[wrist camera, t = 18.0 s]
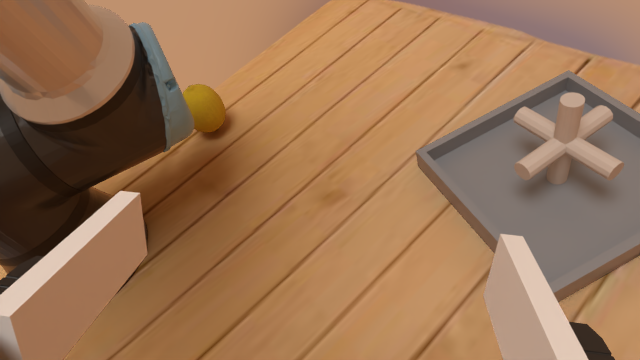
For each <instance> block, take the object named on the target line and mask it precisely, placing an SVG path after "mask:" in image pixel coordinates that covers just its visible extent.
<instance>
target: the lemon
mask: <svg viewBox="0 0 640 360" xmlns="http://www.w3.org/2000/svg"><path fill="white" fill-rule="evenodd" d="M183 96H184V99H185V101H186V103H187V105H188V107H189V109H190V112H191V114H192V116H193V119H194V129H196V130H197V131H200V132H207V133H209V132H213V131H217V130H218V128H220V127H221V126H222V124H223V122H224V120H225V107H224V104H223V102H222V100H221V98H220V97H219V95H218V94H217V93H216V92H215V91H214V90H213V89H211V88H210V87H208V86H206V85H201V84H196V85H191V86H188V88H187V89H186V90H185V91H184V92H183Z"/></svg>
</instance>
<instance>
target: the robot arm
mask: <svg viewBox="0 0 640 360" xmlns="http://www.w3.org/2000/svg"><path fill="white" fill-rule="evenodd" d="M193 129H194V119H193V116H192V114H191V112H190V109H189V107H188V105H187V103H186V101H185V99H184V96H183V94H182V92H181V90H180V88H179V86H178V84H177V82H176V79H175V77H174V75H173V73H172V71H171V68H170V66H169V64H168V62H167V60H166V57H165V55H164V54H163V51H162V49H161V47H160V45H159V42H158V41H157V38H156V36H155V34H154V32H153V30H152V28H151V26H150V25H149V24H147V23H143V22H142V23H138V24H135V23H133V24H131V25H129V26H128V25H127V24H126V23H125V22H124V21H123V20H122V19H121V18H120V17H119V16H118V15H117V14H116V13H114V12H112V11H111V10H108V9H106V8H103V7H100V6H94V5H87V4H86V2H85V1H84V0H0V265H1V266H2V267H3V268H4V270H5V271H6V273H7V275H6V278H2V279H1V280H0V360H63V359H64V358H65V356H66V355H67V354H68V353H69V351H70V350H71V349H72V348H73V347H74V345H75V344H76V343H77V342H78V340H79V339H80V338H81V337H82V335H83V334H84V333H85V332H86V330H87V329H88V328H89V327H90V325H91V324H92V323H93V322H94V320H95V319H96V318H97V317H98V315H99V314H100V313H101V312H102V310H103V309H104V308H105V307H106V305H107V304H108V303H109V302H110V300H111V299H112V298H113V297H114V296H115V294H116V293H117V292H118V291H119V289H120V288H121V287H122V286H123V285H124V284H125V283H126V282H127V281H128V279H129V278H130V277H131V276H132V274H133V273H134V271H135V270H136V268H137V267H138V266H139V264H140V263H141V262H142V261H143V259H144V258H145V257H146V256H147V246H146V244H147V227H146V224H145V221H144V219H143V213H142V205H141V197H140V193H135V192H127V191H120V192H118V193H117V194H116V195H115V196H114V197H113V196H111V195H109V194H107V193H105V192H102V191H100V190H98V189H95V188H93V187H92V186H94V185H96V184H98V183H100V182H102V181H104V180H106V179H108V178H110V177H112V176H115V175H117V174H119V173H121V172H123V171H125V170H127V169H129V168H131V167H133V166H135V165H137V164H139V163H141V162H143V161H145V160H147V159H149V158H152V157H154V156H156V155H158V154H160V153H162V152H166V151H168V150H169V149H170V148H171V146H173V145H175V144H177V143H178V142H180V141H182V140H183V139H185V138H187V137H188V136H189V135H190V134H191V133H192V132H193ZM483 297H484V300H485V303H486V306H487V310H488V313H489V316H490V319H491V322H492V325H493V329H494V332H495V335H496V338H497V341H498V344H499V348H500V351H501V354H502V357H503V360H615V359H614V357H612V356H611V352H610V350H609V349H608V347H607V345H606V344H605V342H604V340H603V339H602V338H601V337H600V336H599V335H598V334H597V333H596V332H595V331H594V330H593V329H592V328H590V327H589V326H588V325H587V324H581V323H573V322H568V320H567V318H566V316H565V315H564V313H563V311H562V309H561V307H560V305H559V303H558V301H557V299H556V298H555V296H554V294H553V292H552V290H551V288H550V286H549V284H548V283H547V281H546V279H545V277H544V275H543V273H542V271H541V269H540V268H539V266H538V264H537V262H536V260H535V258H534V256H533V254H532V253H531V251H530V249H529V247H528V245H527V243H526V241H525V239H524V238H523V236H516V235H507V234H500V237H499V241H498V244H497V248H496V251H495V255H494V259H493V262H492V266H491V270H490V273H489V277H488V281H487V284H486V288H485V291H484V295H483Z"/></svg>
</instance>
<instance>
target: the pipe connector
mask: <svg viewBox="0 0 640 360" xmlns="http://www.w3.org/2000/svg"><path fill="white" fill-rule="evenodd" d="M584 104H585V98H584V96H583V95H581V94H579V93H574V92H570V93H566V94H564V95H562V96H561V98H560V102H559V108H558V114H557V119H556V124H555V123H554V122H552V121H550V120H548V119H547V118H545V117H543V116H541V115H540V114H538V113H536V112H534V111H533V110H531V109H529V108H527V107H525V106H524V107H522V108H520V109H519V110H518V111H517V113H516V114H515V116H514V119H513V120H514V123H516V124H517V125H519V126H521V127H522V128H524V129H526V130H527V131H529V132H530V133H532V134H534V135H535V136H537V137H539V138H540V139H542V140H544V141H545V143H544V144H542V145H541V146H540V147H538V148H537V149H535V150H534V151H532V152H531V153H530V154H528V155H527V156H525V157H524V158H522V159H521V160H520V161H518V162H517V163H515V165H514V169H515V171H516V173H517V175H519V176H520V177H521V178H522V179H524V180H529V179H531V178H532V177H534V176H535V175H536V174H538V173H539V172H541V171H542V170H543V169H545V168H546V167H548V170H547V180H548V181H549V182H550V183H552V184H557V185H558V184H563V183H565V182H566V180H567V177H568V173H569V169H570V164H571V160H572V158H573V159H574V160H576V161H578V162H579V163H581V164H583V165H584V166H586V167H587V168H589V169H591V170H592V171H594V172H596V173H597V174H599V175H600V176H602V177H604V178H605V179H607V180H612V179H614V178H615V177H616V176H617V175H618V174H619V173H620V171H621V170H622V168H623V167H624V163H623V162H622V161H620V160H618V159H616V158H615V157H613V156H611V155H609V154H608V153H606V152H604V151H602V150H601V149H599V148H597V147H595V146H594V145H592V144H590V143H588V142H587V141H585V140H586V139H587V138H588V137H590V136H591V135H593V134H594V133H595V132H597V131H598V130H600V129H601V128H602V127H604V126H605V125H607V124H608V123H609V122H611V121H612V119H613V113H612V112H611V110H610V109H609V108H607V107H606V106H603V105H600V106H597V107H595V108H594V109H592V110H591V111H590V112H588V113H587V114H585V115H584V116H582V112H583V108H584Z"/></svg>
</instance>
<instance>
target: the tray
mask: <svg viewBox="0 0 640 360" xmlns="http://www.w3.org/2000/svg"><path fill="white" fill-rule="evenodd" d="M570 92H574V93H579V94H581V95H583V96H584V98H585V104H584V108H583V112H582V116H584V115H585V114H587V113H588V112H590V111H591V110H592V109H594V108H595V107H597V106H600V105H603V106H606V107H607V108H609V109H610V110H611V112H612V113H613V119H612V121H611V122H609V123H608V124H607V125H605V126H604V127H602V128H601V129H600V130H598V131H597V132H595V133H594V134H593V135H591V136H590V137H588V138H587V139H586V140H585V141H587V142H588V143H590V144H592V145H594V146H595V147H597V148H599V149H601V150H602V151H604V152H606V153H608V154H609V155H611V156H613V157H615V158H616V159H618V160H620V161H622V162H623V163H624V167H623V168H622V170H621V171H620V173H619V174H618V175H617V176H616V177H615V178H614V179H612V180H607V179H605V178H604V177H602V176H600V175H599V174H597V173H596V172H594V171H592V170H591V169H589V168H587V167H586V166H584V165H583V164H581V163H579V162H578V161H576V160H574V159H573V158H572V160H571V164H570V169H569V173H568V177H567V180H566V182H565V183H563V184H558V185H557V184H552V183H550V182H549V181H548V180H547V170H548V167H546V168H545V169H543V170H542V171H541V172H539V173H538V174H536V175H535V176H534V177H532V178H531V179H529V180H524V179H522V178H521V177H520V176H519V175H517V173H516V171H515V169H514V165H515V163H517V162H518V161H520V160H521V159H522V158H524V157H525V156H527V155H528V154H530V153H531V152H532V151H534V150H535V149H537V148H538V147H540V146H541V145H542V144H544V143H545V141H544V140H542V139H540V138H539V137H537V136H535V135H534V134H532V133H530V132H529V131H527V130H526V129H524V128H522V127H521V126H519V125H517V124H516V123H514V120H513V119H514V116H515V114H516V113H517V111H518V110H519V109H520V108H522V107H524V106H525V107H527V108H529V109H531V110H533V111H534V112H536V113H538V114H540V115H541V116H543V117H545V118H547V119H548V120H550V121H552V122H554V123H555V124H556V119H557V114H558V108H559V102H560V98H561V96H562V95H564V94H566V93H570ZM416 155H417V161H418V166H419V168H420V169H421V170H422V171H423V172H424V173H425V174H426V176H427V177H428V178H429V179H430V180H431V181H432V182H433V184H434V185H435V186H436V187H437V188H438V189H439V190H440V191H441V193H442V194H443V195H444V196H445V197H446V198H447V199H448V201H449V202H450V203H451V204H452V205H453V206H454V207H455V209H456V210H457V211H458V212H459V213H460V214H461V215H462V216H463V218H464V219H465V220H466V221H467V222H468V223H469V224H470V226H471V227H472V228H473V229H474V230H475V231H476V232H477V234H478V235H479V236H480V237H481V238H482V239H483V240H484V241H485V243H486V244H487V245H488V246H489V247H490V248H491V249H492V251H493V252H494V253H495V251H496V248H497V244H498V241H499V237H500V234H507V235H516V236H523V238H524V239H525V241H526V243H527V245H528V247H529V249H530V251H531V253H532V254H533V256H534V258H535V260H536V262H537V264H538V266H539V268H540V269H541V271H542V273H543V275H544V277H545V279H546V281H547V283H548V284H549V286H550V288H551V290H552V292H553V294H554V296H555V298H556V299H557V301H558V302H559V301H561V300H562V299H564V298H566V297H568V296H569V295H571V294H573V293H575V292H576V291H578V290H580V289H582V288H583V287H585V286H587V285H589V284H590V283H592V282H594V281H596V280H597V279H599V278H601V277H603V276H604V275H606V274H608V273H610V272H611V271H613V270H615V269H617V268H618V267H620V266H622V265H623V264H625V263H627V262H629V261H630V260H632V259H634V258H636V257H637V256H639V255H640V114H639V113H638V112H636V111H634V110H633V109H631V108H629V107H628V106H626V105H624V104H623V103H621V102H620V101H618V100H616V99H615V98H613V97H611V96H610V95H608V94H606V93H605V92H603V91H602V90H600V89H598V88H597V87H595V86H593V85H592V84H590V83H588V82H587V81H585V80H584V79H582V78H580V77H579V76H577V75H575V74H574V73H572V72H570V71H569V70H568V71H566V72H565V73H563V74H561V75H559V76H557V77H555V78H553V79H551V80H549V81H548V82H546V83H544V84H542V85H540V86H538V87H536V88H534V89H532V90H531V91H529V92H527V93H525V94H523V95H521V96H519V97H517V98H515V99H514V100H512V101H510V102H508V103H506V104H504V105H502V106H500V107H498V108H497V109H495V110H493V111H491V112H489V113H487V114H485V115H483V116H481V117H479V118H478V119H476V120H474V121H472V122H470V123H468V124H466V125H464V126H462V127H461V128H459V129H457V130H455V131H453V132H451V133H449V134H447V135H445V136H444V137H442V138H440V139H438V140H436V141H434V142H432V143H430V144H428V145H427V146H425V147H423V148H421V149H419V150H417V151H416Z"/></svg>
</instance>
